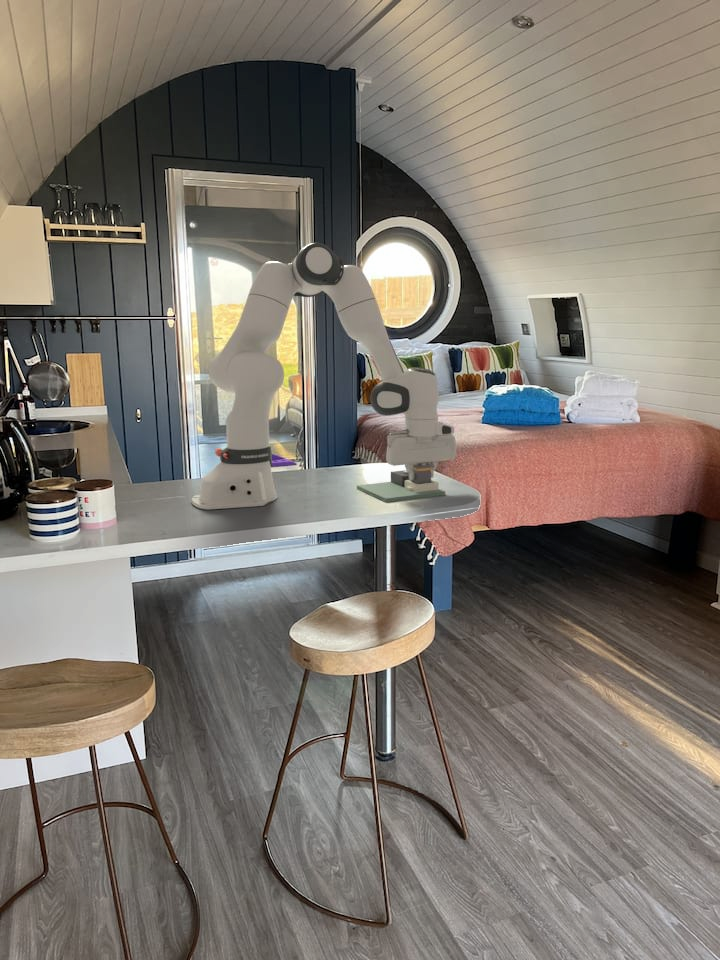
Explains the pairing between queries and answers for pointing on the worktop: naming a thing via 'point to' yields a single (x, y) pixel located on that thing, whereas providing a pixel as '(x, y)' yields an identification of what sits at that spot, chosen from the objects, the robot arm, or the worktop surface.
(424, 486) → the cream shallow tray
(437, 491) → the board
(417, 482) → the grey upright block
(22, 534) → the worktop surface
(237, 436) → the robot arm
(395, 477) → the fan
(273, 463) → the purple shoe
